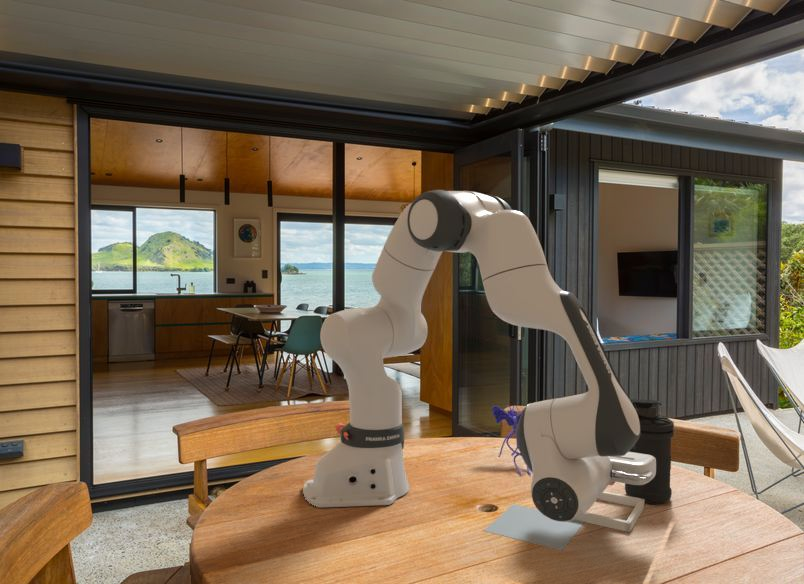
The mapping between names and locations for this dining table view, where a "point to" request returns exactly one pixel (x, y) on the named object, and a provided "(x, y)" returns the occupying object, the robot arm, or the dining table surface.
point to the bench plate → (534, 527)
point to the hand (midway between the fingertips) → (604, 449)
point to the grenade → (653, 451)
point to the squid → (511, 420)
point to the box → (614, 522)
